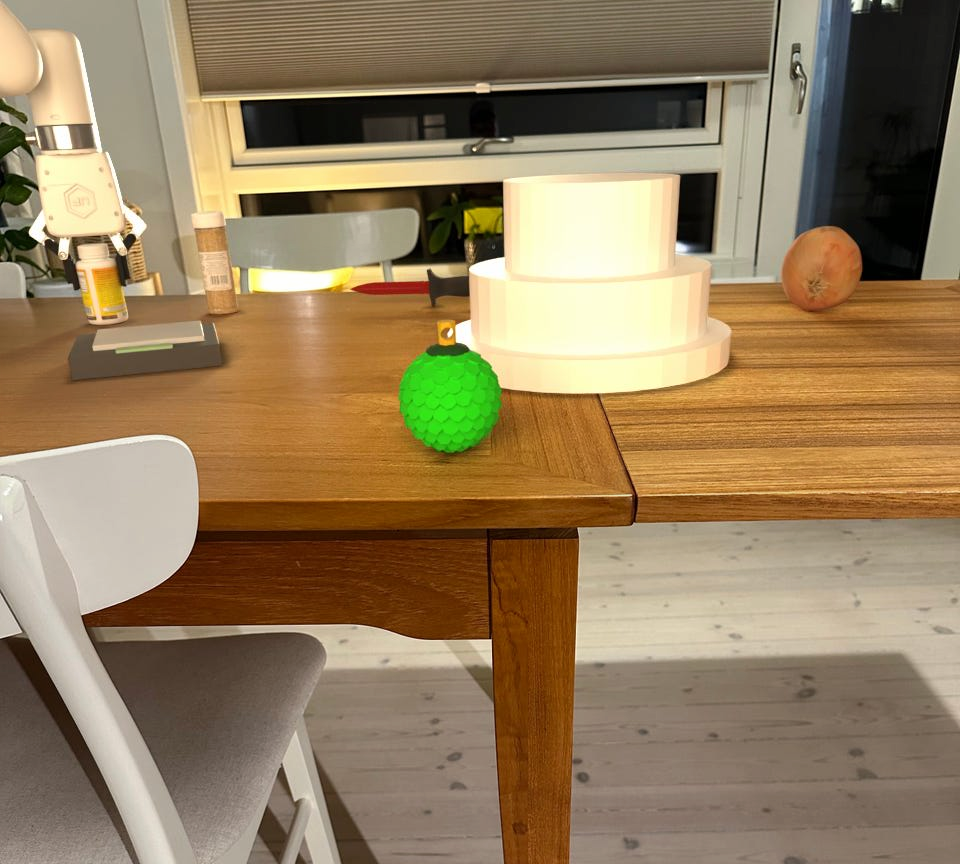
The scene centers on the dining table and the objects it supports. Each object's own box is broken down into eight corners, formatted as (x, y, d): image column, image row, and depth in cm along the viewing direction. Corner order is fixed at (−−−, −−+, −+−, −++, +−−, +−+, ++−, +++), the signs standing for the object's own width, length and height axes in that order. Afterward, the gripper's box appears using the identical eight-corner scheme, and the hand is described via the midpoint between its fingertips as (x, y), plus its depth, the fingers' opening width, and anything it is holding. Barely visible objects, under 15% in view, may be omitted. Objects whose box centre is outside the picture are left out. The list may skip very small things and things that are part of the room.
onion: (852, 303, 126) (864, 221, 121) (859, 317, 118) (872, 229, 113) (776, 303, 128) (784, 223, 124) (777, 317, 120) (787, 231, 115)
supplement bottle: (136, 318, 138) (121, 242, 133) (117, 325, 133) (100, 247, 128) (100, 318, 138) (84, 243, 134) (80, 326, 134) (62, 247, 129)
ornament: (494, 432, 80) (490, 308, 76) (511, 461, 73) (508, 327, 69) (398, 440, 79) (388, 315, 75) (406, 470, 72) (396, 335, 68)
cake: (478, 405, 88) (470, 193, 80) (429, 342, 114) (419, 178, 106) (780, 378, 93) (802, 175, 84) (667, 324, 119) (676, 165, 110)
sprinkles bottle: (242, 309, 141) (227, 209, 135) (235, 314, 137) (219, 212, 131) (211, 310, 141) (195, 211, 135) (203, 315, 137) (186, 214, 131)
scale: (72, 380, 104) (66, 352, 102) (82, 355, 116) (76, 329, 114) (222, 365, 107) (218, 338, 106) (216, 342, 119) (212, 317, 118)
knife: (514, 302, 137) (514, 265, 134) (514, 304, 135) (513, 267, 133) (352, 306, 139) (348, 270, 137) (350, 308, 138) (346, 271, 136)
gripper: (-6, 145, 120) (32, 296, 128) (137, 138, 123) (164, 285, 132) (3, 144, 126) (38, 288, 135) (138, 138, 130) (164, 279, 138)
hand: (100, 285), depth 133 cm, fingers closed on supplement bottle, 5 cm apart
